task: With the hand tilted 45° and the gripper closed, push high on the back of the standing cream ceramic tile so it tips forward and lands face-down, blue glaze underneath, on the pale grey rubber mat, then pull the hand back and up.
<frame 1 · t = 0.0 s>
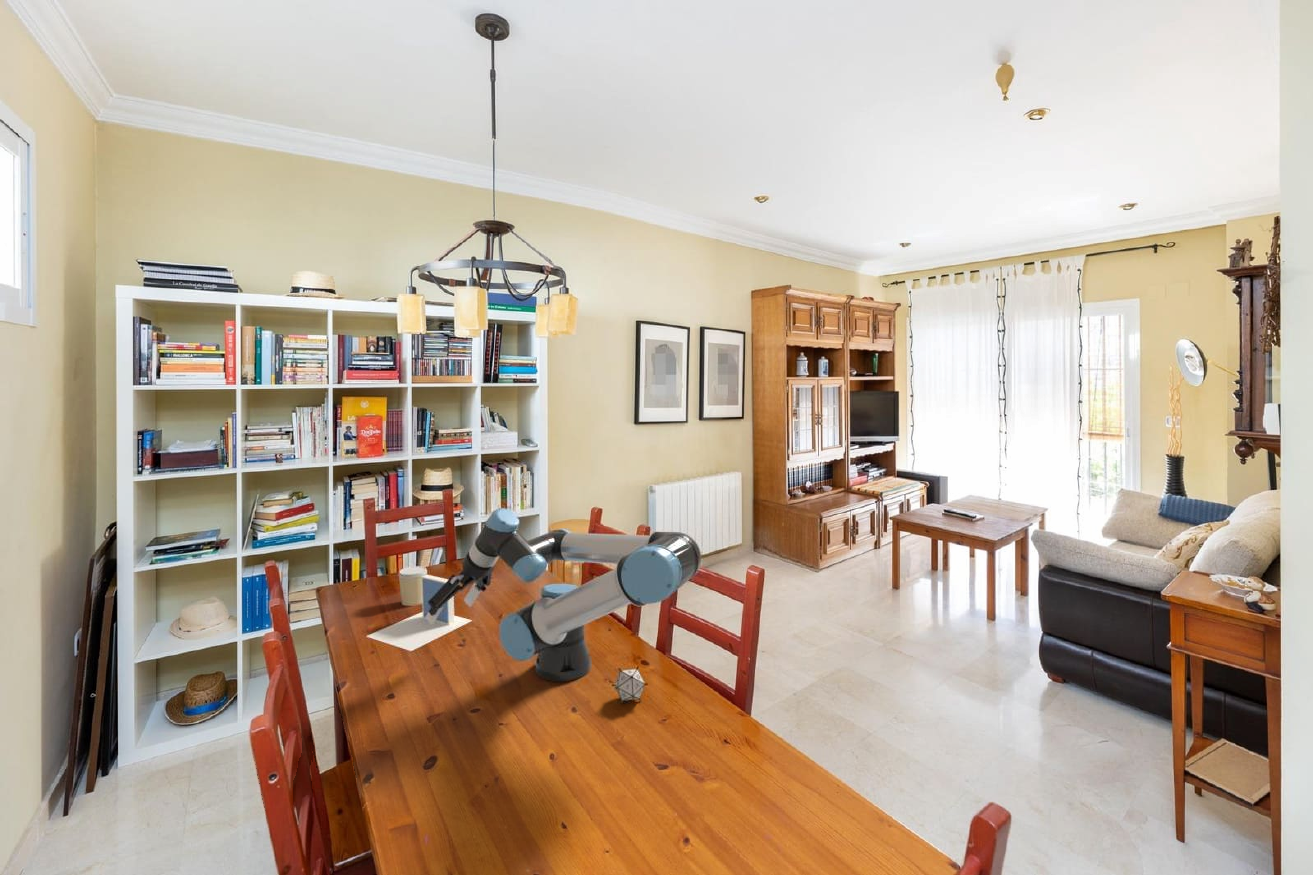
hand: (449, 611, 158), 15 cm above the table, tool tilted 35°, fingers open, 13 cm apart
game die: (629, 700, 142), on the table
tile: (438, 620, 187), point 1 cm above the table, touching mat
coffee cup: (414, 603, 202), on the table
mat: (421, 630, 181), on the table
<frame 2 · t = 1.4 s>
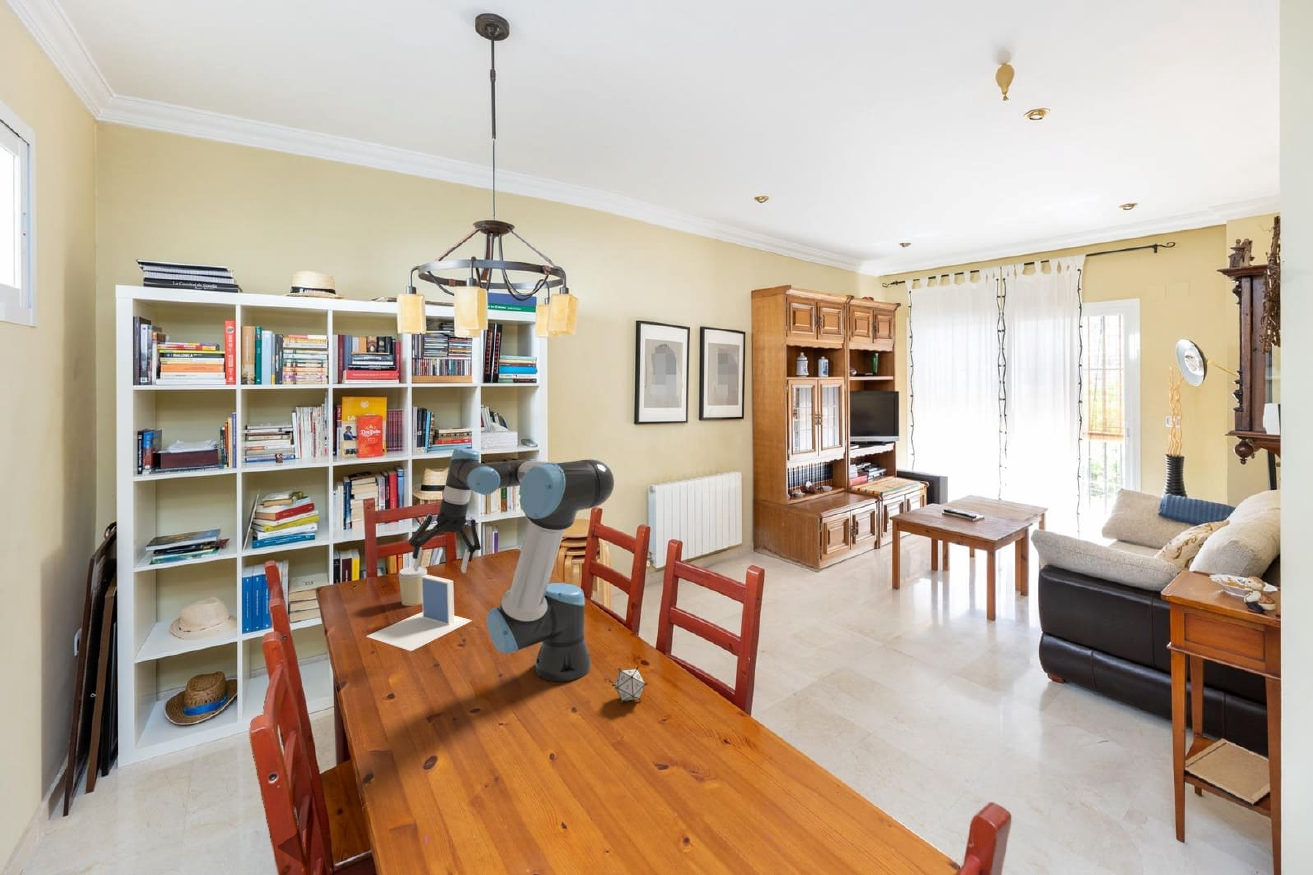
hand: (439, 570, 167), 23 cm above the table, tool pointing down, fingers open, 13 cm apart
nothing on the table moved.
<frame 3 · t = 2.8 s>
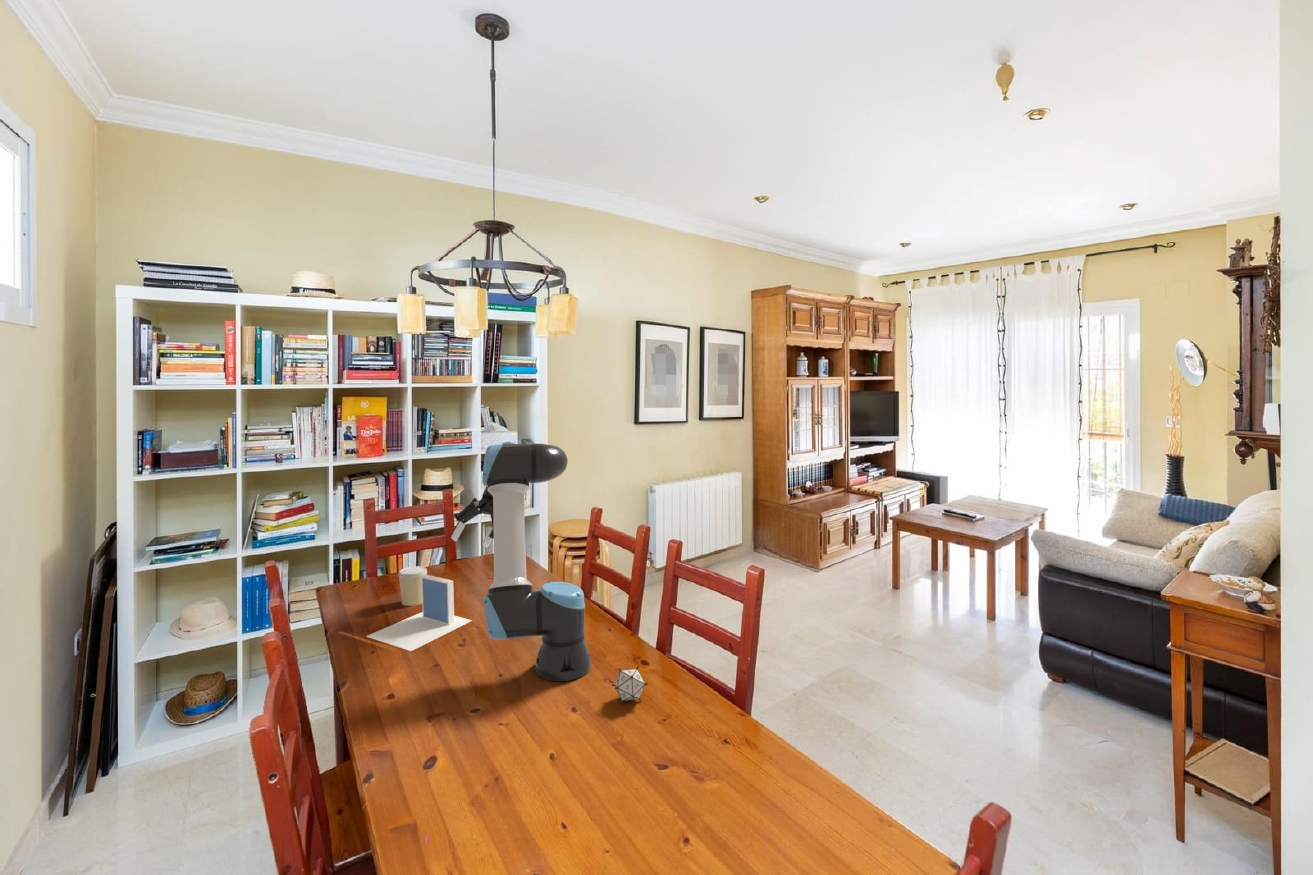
hand: (468, 542, 196), 23 cm above the table, tool tilted 40°, fingers open, 13 cm apart
nothing on the table moved.
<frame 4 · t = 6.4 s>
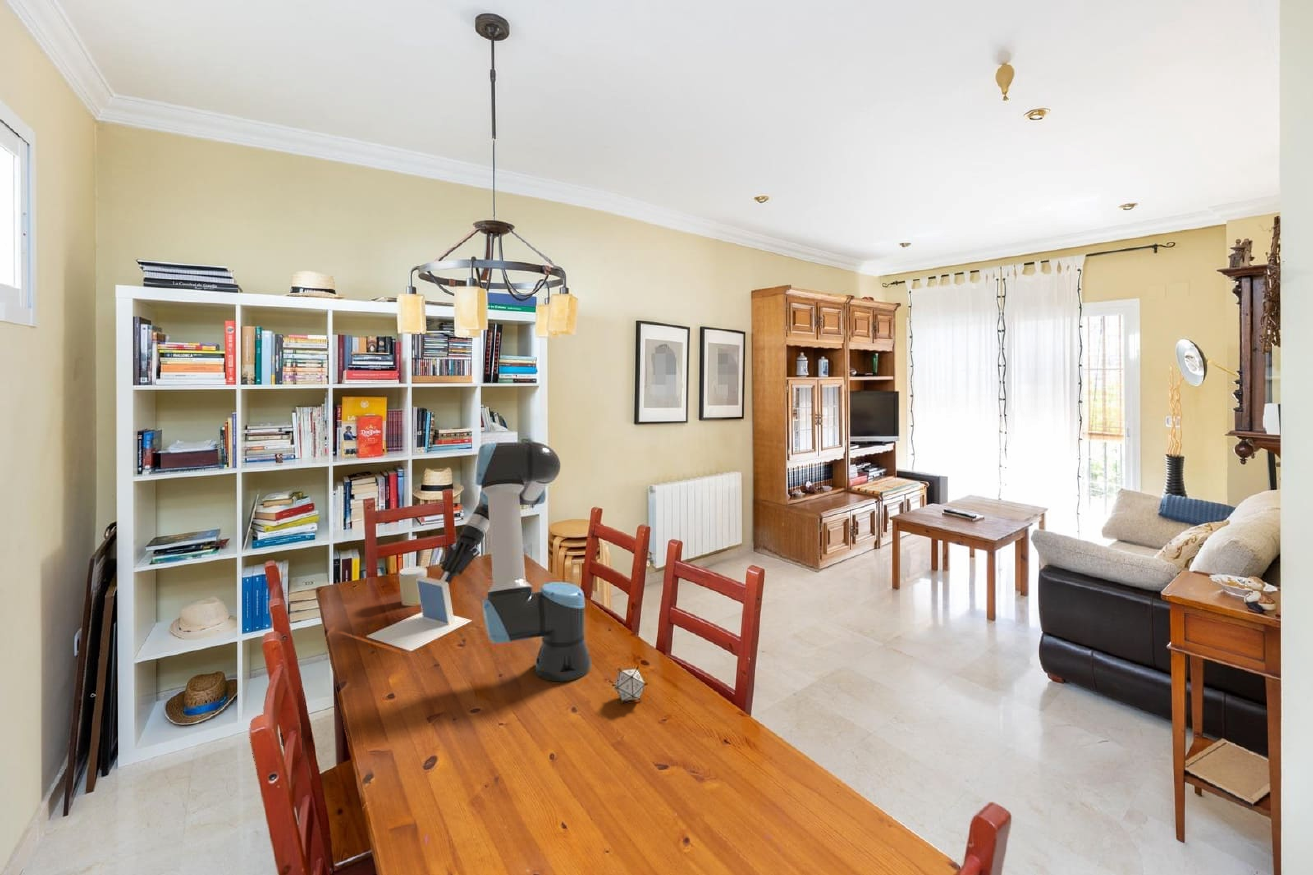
hand: (438, 591, 187), 10 cm above the table, tool tilted 45°, fingers closed
tile: (438, 619, 187), point 1 cm above the table, tilted 9°, touching mat
everything else where it was.
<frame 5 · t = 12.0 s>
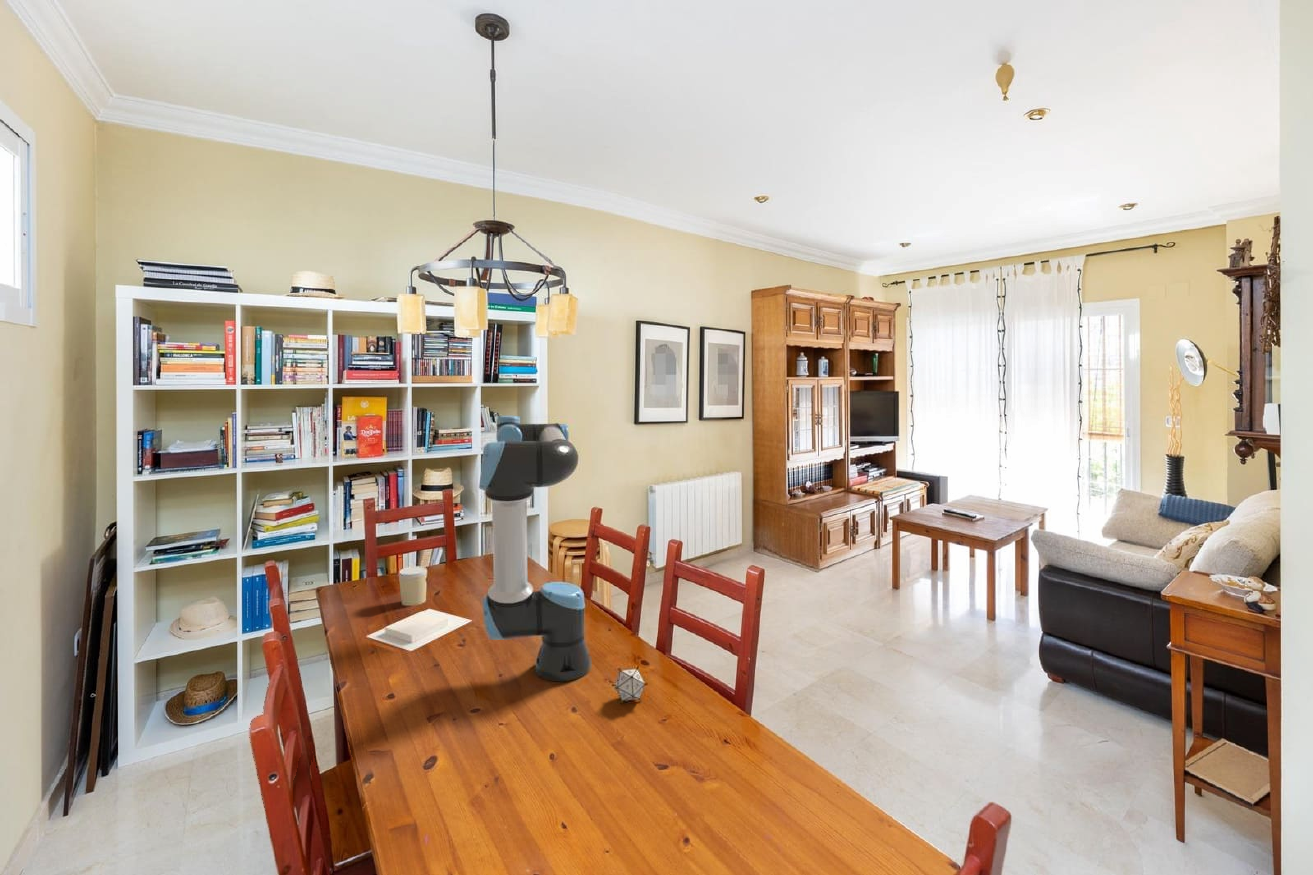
hand: (510, 531, 192), 28 cm above the table, tool pointing down, fingers closed
tile: (435, 618, 185), point 2 cm above the table, tilted 90°, touching mat
everything else where it was.
at the end: tile tilted 90°; tile inside the target area on the mat (4.7 cm from its centre), point 1.8 cm above the mat's base; tile touching mat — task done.
